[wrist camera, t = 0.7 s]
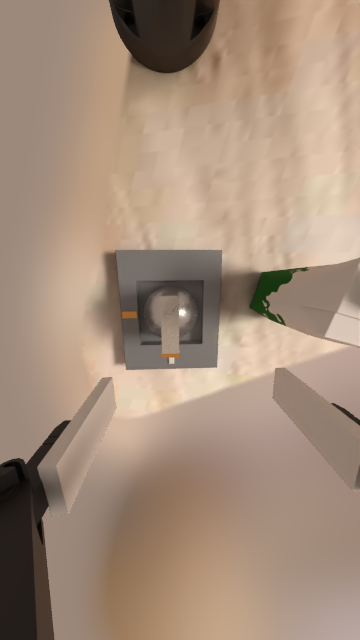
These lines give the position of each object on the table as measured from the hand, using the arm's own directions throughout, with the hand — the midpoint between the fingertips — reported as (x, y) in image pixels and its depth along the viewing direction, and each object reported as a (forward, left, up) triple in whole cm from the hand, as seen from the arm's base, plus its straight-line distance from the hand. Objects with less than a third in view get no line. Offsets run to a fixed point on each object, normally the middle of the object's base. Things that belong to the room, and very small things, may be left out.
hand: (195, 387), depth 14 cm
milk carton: (-6, +18, -22) cm, 28 cm away
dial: (-3, -2, -21) cm, 22 cm away
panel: (-3, -2, -21) cm, 22 cm away
